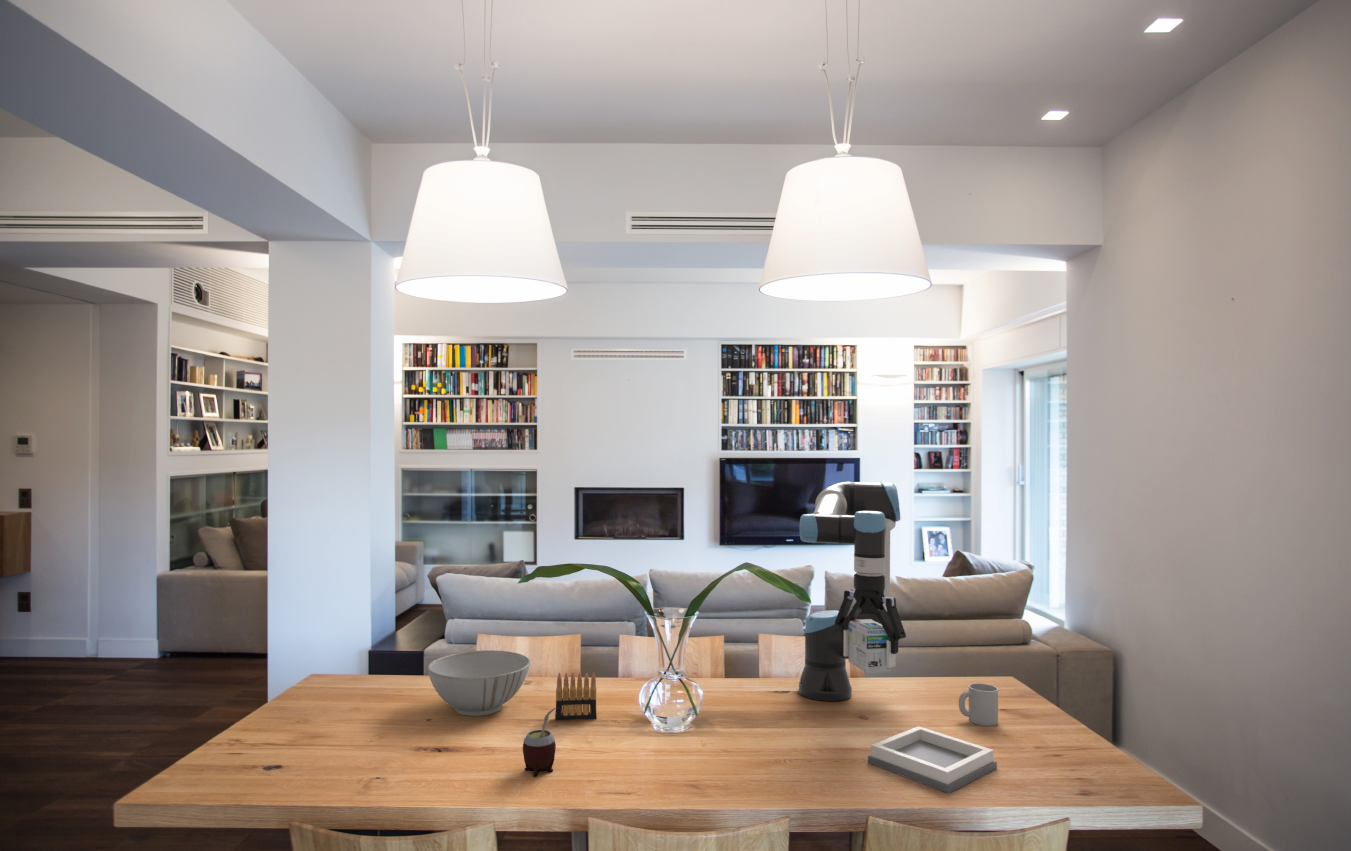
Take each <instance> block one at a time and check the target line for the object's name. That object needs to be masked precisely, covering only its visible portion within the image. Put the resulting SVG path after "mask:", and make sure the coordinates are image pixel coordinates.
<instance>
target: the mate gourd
mask: <svg viewBox="0 0 1351 851" xmlns="http://www.w3.org/2000/svg"><path fill="white" fill-rule="evenodd" d="M555 711H556V707H554V708H552V709H551V710H549V711H548V712H547V713H546V714H545V715H544V719H543V724H542V727H541V729H536V730H532V731H530V732H528V733H527V734H526V736H525V737H524V739H523V742H522V743H523V744H522V754H523V761H524V764H525V765H524V766H525V767H524V772H534V773H533V775H532V777H533V778H537V777H538V776H539V774H540V773H553V771H554V769H553V766H554V762H555V757H556V756H555V755H556V749H557V746H556V739H555V736H554V734H553V733H552V732H551V731H550V730H546V726H547V722H548V720H549V717H550V715H551V713H552V712H555Z"/></svg>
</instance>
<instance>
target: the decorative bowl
mask: <svg viewBox="0 0 1351 851" xmlns="http://www.w3.org/2000/svg"><path fill="white" fill-rule="evenodd" d="M530 667H531V661H530V659H529V657H527V656H526V655H524V654H521V653H518V652H515V651H514V652H513V651H508V650H492V649H491V650H490V649H489V650H488V649H487V650H485V649H484V650H472V651H462V652H457V653H452V654H451V653H450V654H447V655H444V656H441V657H438V658H436V659H434V660H432V661H431V662H430V663H429V664H428V665H427V672H428V676H429V680H430V682H431V684H432V687H433V688H434V690H435V692H436V694H438V695H439V697H440V699H442V700H443V701H444V702H445V703H447V704H448V705H449V706H451V707H453V708H454V709H455V712H456V713H457V714H460V715H462V716H471V717H479V716H487V715H490V714H491V715H492V714H494V713H497V712H499V711H501V710H502V709H503V705H505V704H506V703H507V702H509V701H510V700H511V699H512V698H513V697H514V696H516V694H517V693H518V692H519V691H520V689H521V687H522V686H523V683H524V682H525V680H526V678H527V676H528V673H529V670H530Z"/></svg>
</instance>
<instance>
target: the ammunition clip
mask: <svg viewBox="0 0 1351 851" xmlns="http://www.w3.org/2000/svg"><path fill="white" fill-rule="evenodd" d="M582 678H583V677H582V673H581V671H580V672H579V673H578V676H577V682H576V676H575V673H574V672H572V673H571V676H570V684H569V676H568V672H565V674H564V678H563V681H562V674H561V673H560V672H559V673H558V675H557V679H556V680H557V681H556V688H555V714H554V717H555V718H554V721H556V722H558V721H560V722H561V721H584V720H585V721H586V720H589V721H590V720H597V718H598V716H597V715H598V714H597V683H596V681H597V679H596V674H595V671H593V672H592V674H591V679H590V678H589V674H588V671H586V672H585V673H584V679H582ZM589 680H590V681H589ZM576 683H577V684H576Z"/></svg>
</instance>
